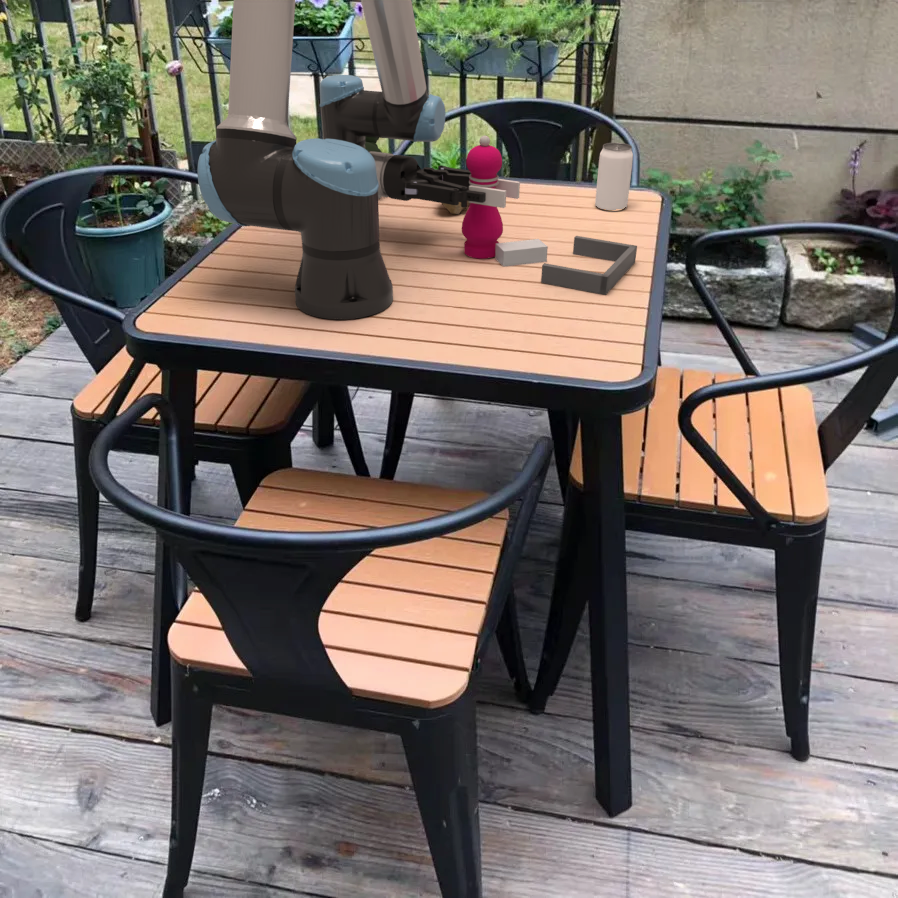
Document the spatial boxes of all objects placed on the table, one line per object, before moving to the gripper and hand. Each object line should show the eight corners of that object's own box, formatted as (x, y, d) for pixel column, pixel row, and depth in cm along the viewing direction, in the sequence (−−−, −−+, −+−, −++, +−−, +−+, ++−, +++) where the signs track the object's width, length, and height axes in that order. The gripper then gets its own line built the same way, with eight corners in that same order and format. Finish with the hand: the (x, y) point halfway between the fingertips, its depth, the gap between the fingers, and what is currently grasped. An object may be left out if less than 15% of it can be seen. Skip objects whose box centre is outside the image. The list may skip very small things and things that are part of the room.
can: (592, 210, 174) (598, 148, 167) (597, 200, 179) (603, 141, 172) (624, 213, 172) (632, 151, 165) (628, 203, 177) (636, 143, 171)
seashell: (432, 197, 180) (431, 158, 176) (470, 197, 181) (471, 158, 176) (436, 219, 169) (436, 177, 164) (478, 218, 169) (479, 176, 165)
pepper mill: (498, 261, 149) (503, 142, 139) (457, 258, 151) (459, 139, 140) (504, 247, 155) (509, 131, 144) (465, 244, 157) (467, 129, 146)
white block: (503, 268, 148) (503, 251, 146) (495, 260, 151) (495, 243, 149) (546, 263, 150) (547, 246, 148) (537, 255, 153) (538, 238, 151)
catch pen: (605, 294, 137) (607, 277, 136) (541, 282, 141) (542, 265, 140) (635, 262, 149) (637, 245, 148) (574, 252, 153) (576, 235, 152)
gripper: (416, 184, 163) (531, 202, 154) (366, 211, 149) (488, 232, 140) (416, 143, 158) (533, 159, 150) (364, 167, 145) (490, 186, 136)
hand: (511, 194), depth 145 cm, fingers closed on pepper mill, 5 cm apart
